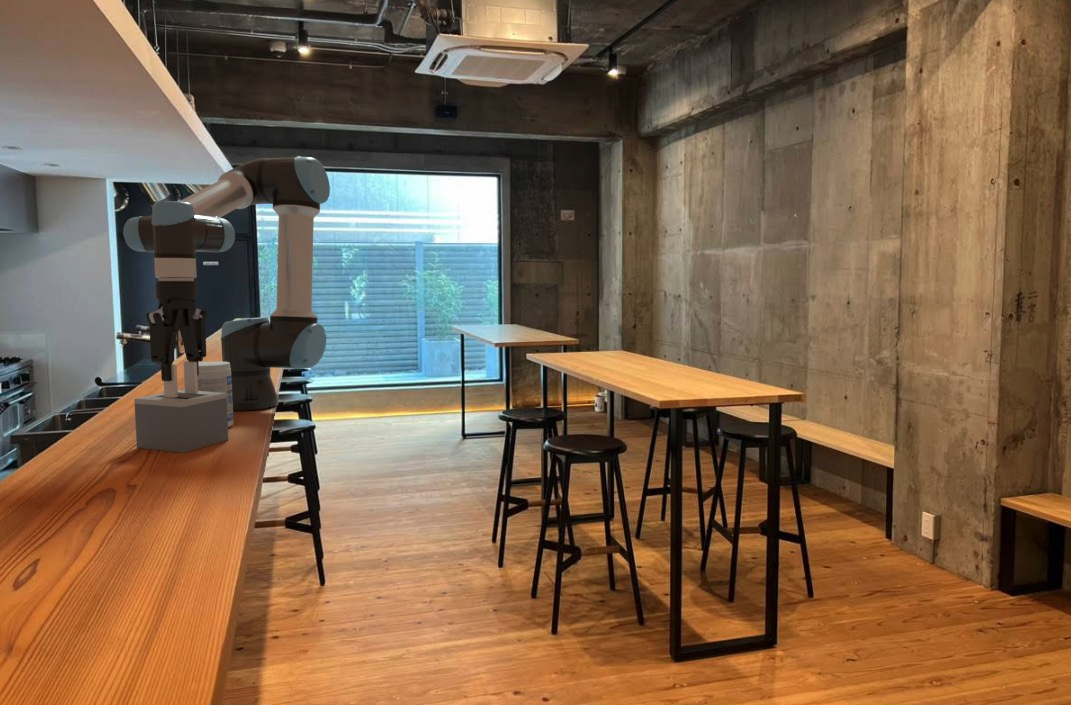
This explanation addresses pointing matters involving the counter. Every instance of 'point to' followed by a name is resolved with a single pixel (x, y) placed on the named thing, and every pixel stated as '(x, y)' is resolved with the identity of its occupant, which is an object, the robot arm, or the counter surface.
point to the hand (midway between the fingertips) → (181, 394)
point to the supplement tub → (217, 382)
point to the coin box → (181, 421)
